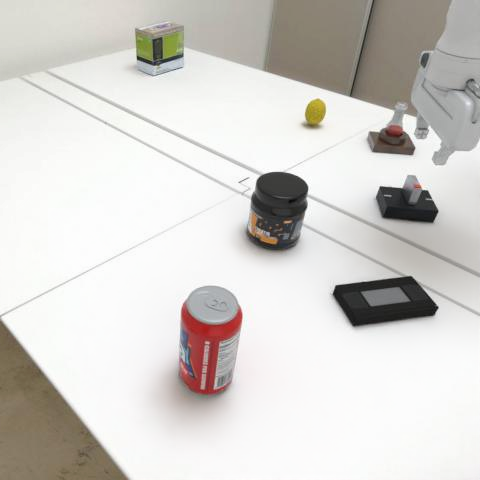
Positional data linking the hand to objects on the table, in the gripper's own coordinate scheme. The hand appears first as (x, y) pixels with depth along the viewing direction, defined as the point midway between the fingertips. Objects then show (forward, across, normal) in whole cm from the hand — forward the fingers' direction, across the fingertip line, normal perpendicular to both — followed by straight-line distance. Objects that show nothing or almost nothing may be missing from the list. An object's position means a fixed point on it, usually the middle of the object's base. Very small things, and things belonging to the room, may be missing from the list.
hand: (428, 149), depth 79 cm
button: (+16, +39, -9) cm, 43 cm away
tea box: (+19, +95, +58) cm, 113 cm away
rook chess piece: (+20, +49, -13) cm, 54 cm away
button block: (+19, +39, -9) cm, 45 cm away
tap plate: (+19, +10, -5) cm, 22 cm away
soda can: (+19, -37, +36) cm, 55 cm away
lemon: (+19, +50, +9) cm, 55 cm away
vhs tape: (+19, -20, +7) cm, 28 cm away
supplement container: (+19, -3, +24) cm, 31 cm away
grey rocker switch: (+16, +10, -5) cm, 19 cm away
